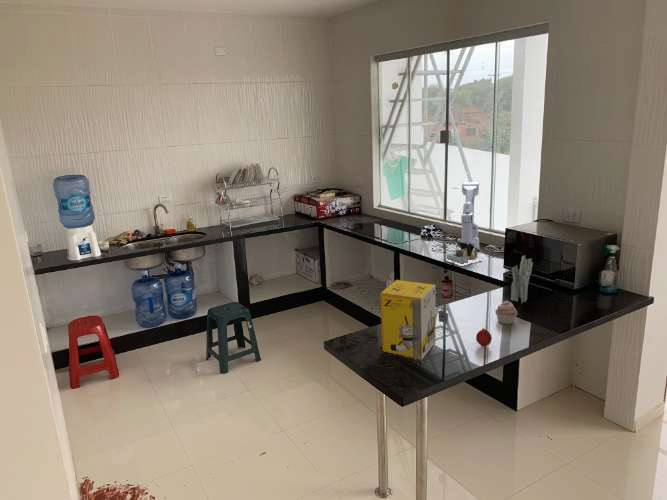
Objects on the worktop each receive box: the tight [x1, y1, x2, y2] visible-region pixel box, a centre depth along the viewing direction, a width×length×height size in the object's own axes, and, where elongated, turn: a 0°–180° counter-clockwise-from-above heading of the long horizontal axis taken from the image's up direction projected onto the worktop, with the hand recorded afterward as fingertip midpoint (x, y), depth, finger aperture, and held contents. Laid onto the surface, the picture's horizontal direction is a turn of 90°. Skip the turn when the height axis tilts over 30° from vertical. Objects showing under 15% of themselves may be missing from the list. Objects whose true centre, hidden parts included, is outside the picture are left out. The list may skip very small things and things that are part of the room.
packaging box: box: [379, 279, 437, 360], centre depth 195 cm, size 16×16×25 cm
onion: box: [475, 327, 493, 348], centre depth 195 cm, size 6×6×8 cm
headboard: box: [446, 252, 482, 264], centre depth 299 cm, size 16×14×4 cm
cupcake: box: [495, 300, 518, 326], centre depth 214 cm, size 9×9×10 cm
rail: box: [455, 247, 478, 260], centre depth 300 cm, size 13×4×6 cm, turn 119°
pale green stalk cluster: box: [510, 255, 534, 304], centre depth 236 cm, size 28×7×20 cm, turn 148°
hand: (466, 255), depth 300 cm, fingers closed on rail, 4 cm apart
